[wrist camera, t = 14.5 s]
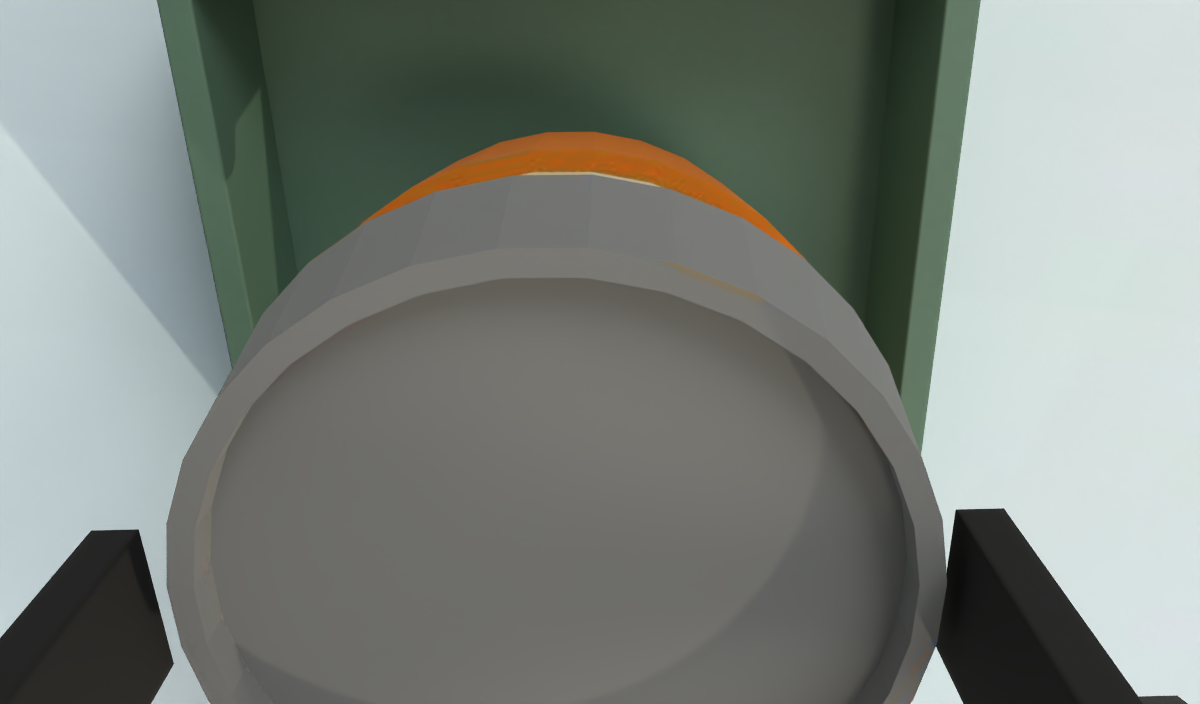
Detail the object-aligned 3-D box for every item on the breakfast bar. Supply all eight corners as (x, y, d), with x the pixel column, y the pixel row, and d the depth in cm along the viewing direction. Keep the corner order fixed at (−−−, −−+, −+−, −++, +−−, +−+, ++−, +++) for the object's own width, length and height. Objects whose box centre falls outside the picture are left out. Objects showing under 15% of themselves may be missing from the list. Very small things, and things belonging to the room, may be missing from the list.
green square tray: (323, 531, 33) (282, 620, 29) (222, -53, 25) (145, -48, 21) (863, 522, 33) (901, 610, 28) (926, -72, 25) (991, -71, 21)
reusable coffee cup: (857, 358, 29) (1074, 737, 16) (509, 520, 32) (436, 968, 18) (672, -25, 25) (752, 41, 11) (285, 200, 27) (-34, 476, 14)
